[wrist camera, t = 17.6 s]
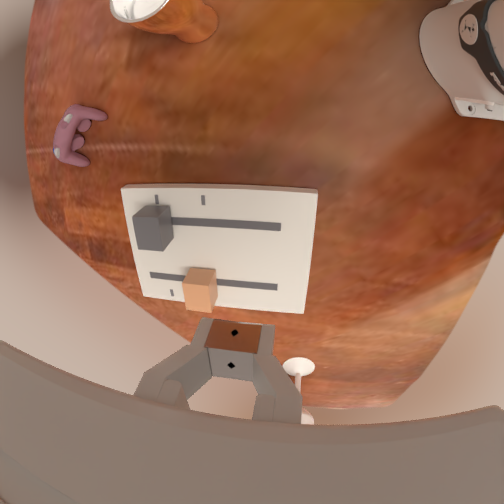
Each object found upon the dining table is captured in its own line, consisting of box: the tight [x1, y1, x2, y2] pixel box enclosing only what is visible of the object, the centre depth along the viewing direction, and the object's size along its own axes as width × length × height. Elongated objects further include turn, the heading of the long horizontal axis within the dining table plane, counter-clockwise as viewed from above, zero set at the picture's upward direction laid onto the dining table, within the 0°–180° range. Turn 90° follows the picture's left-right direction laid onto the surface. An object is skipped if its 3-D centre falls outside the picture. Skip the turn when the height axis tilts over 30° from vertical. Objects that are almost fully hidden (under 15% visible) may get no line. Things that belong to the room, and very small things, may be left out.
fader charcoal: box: [132, 206, 174, 252], centre depth 39 cm, size 4×5×4 cm
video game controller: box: [53, 104, 107, 167], centre depth 35 cm, size 10×5×7 cm, turn 146°
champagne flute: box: [283, 357, 315, 425], centre depth 46 cm, size 7×7×24 cm
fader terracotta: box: [182, 268, 218, 313], centre depth 43 cm, size 4×5×4 cm
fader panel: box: [121, 184, 318, 314], centre depth 43 cm, size 28×20×2 cm
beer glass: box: [110, 0, 218, 43], centre depth 21 cm, size 7×7×15 cm
